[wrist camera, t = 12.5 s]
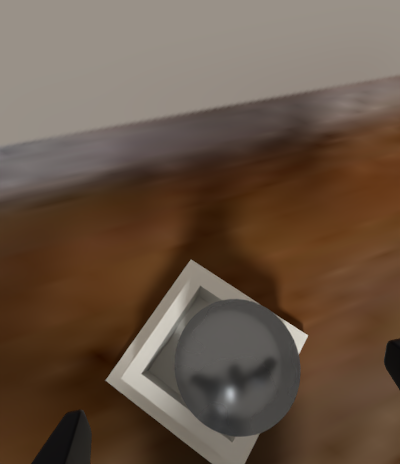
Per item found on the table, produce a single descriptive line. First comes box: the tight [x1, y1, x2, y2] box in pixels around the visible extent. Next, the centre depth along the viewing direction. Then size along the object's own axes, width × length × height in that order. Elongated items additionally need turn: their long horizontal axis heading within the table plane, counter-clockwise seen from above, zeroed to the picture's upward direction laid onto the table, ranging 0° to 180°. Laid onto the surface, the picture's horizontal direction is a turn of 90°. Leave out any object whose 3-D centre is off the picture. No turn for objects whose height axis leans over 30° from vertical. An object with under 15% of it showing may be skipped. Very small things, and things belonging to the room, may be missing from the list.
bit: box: [175, 299, 300, 437], centre depth 15 cm, size 4×4×12 cm
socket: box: [105, 260, 308, 464], centre depth 20 cm, size 10×10×4 cm
